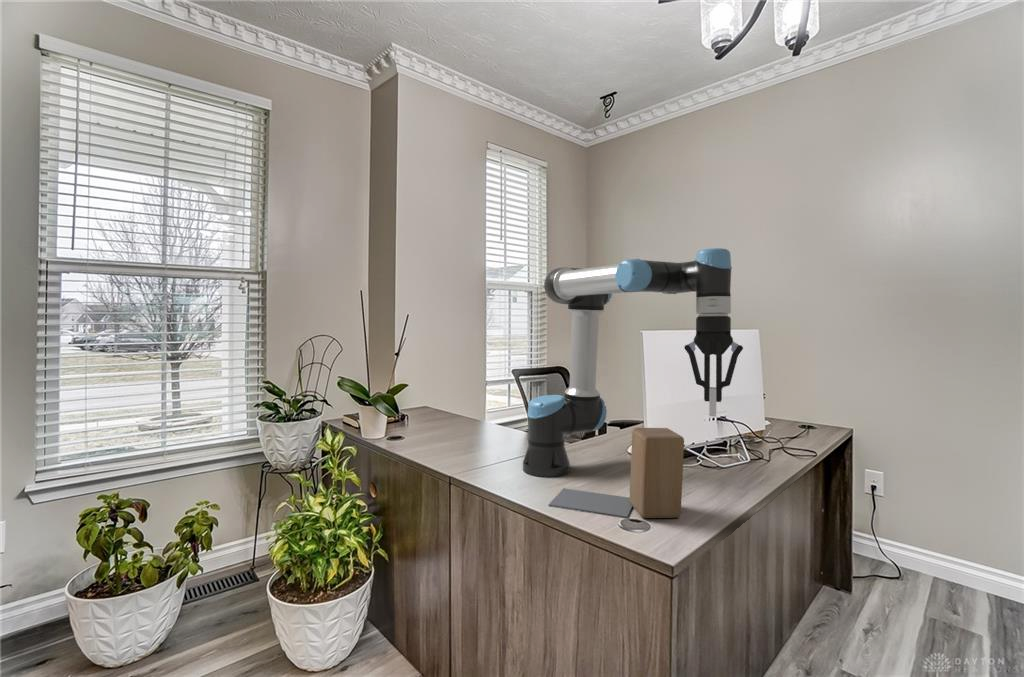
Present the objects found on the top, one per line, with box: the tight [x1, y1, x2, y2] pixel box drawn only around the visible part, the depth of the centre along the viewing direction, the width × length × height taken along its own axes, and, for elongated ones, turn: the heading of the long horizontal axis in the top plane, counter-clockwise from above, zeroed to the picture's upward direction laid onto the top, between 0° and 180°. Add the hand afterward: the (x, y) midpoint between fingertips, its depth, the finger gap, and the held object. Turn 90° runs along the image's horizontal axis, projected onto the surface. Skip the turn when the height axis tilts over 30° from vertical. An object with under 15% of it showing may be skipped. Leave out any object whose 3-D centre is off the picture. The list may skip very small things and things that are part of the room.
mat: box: [548, 487, 634, 519], centre depth 125 cm, size 20×13×1 cm, turn 67°
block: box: [629, 427, 685, 519], centre depth 119 cm, size 10×10×20 cm
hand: (712, 415), depth 113 cm, fingers closed
